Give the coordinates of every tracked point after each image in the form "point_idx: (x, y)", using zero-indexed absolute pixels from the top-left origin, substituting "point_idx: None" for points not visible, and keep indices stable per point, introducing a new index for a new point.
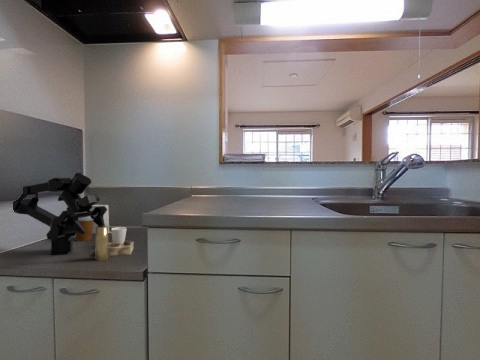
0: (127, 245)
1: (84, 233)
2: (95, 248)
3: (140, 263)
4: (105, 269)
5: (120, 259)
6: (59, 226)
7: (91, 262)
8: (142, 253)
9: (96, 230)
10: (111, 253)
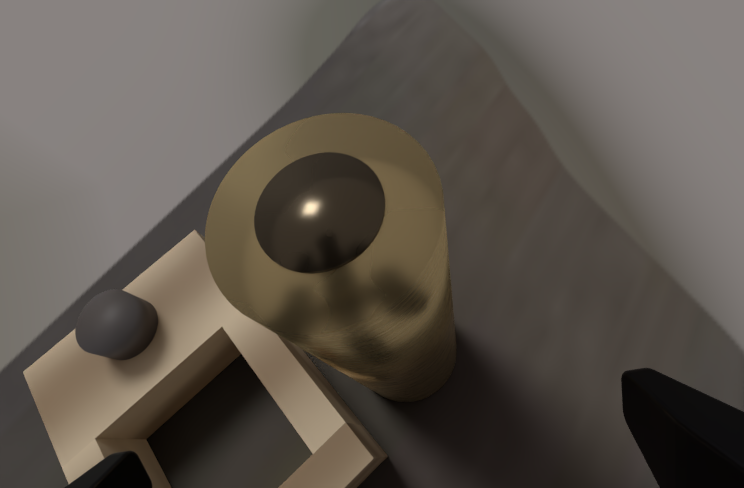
0: (157, 297)
1: (623, 397)
2: (451, 342)
3: (340, 67)
4: (527, 116)
5: None
6: None
7: (513, 325)
8: (177, 210)
9: (444, 230)
10: (301, 351)
